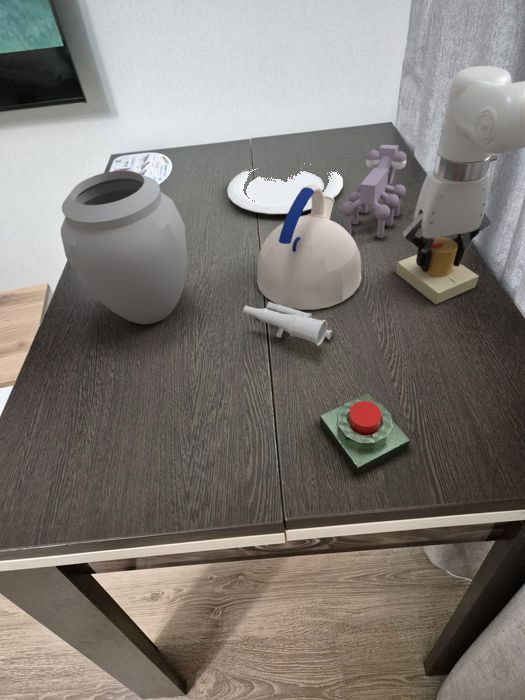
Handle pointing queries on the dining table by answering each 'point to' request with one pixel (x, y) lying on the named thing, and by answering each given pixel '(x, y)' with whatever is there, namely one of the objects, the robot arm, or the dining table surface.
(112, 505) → the dining table surface
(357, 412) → the button
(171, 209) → the vase
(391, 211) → the lavender toy animal
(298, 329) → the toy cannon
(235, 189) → the plate
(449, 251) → the dimmer knob
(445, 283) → the dimmer panel
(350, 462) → the switch block
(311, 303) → the kettle
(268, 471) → the dining table surface
